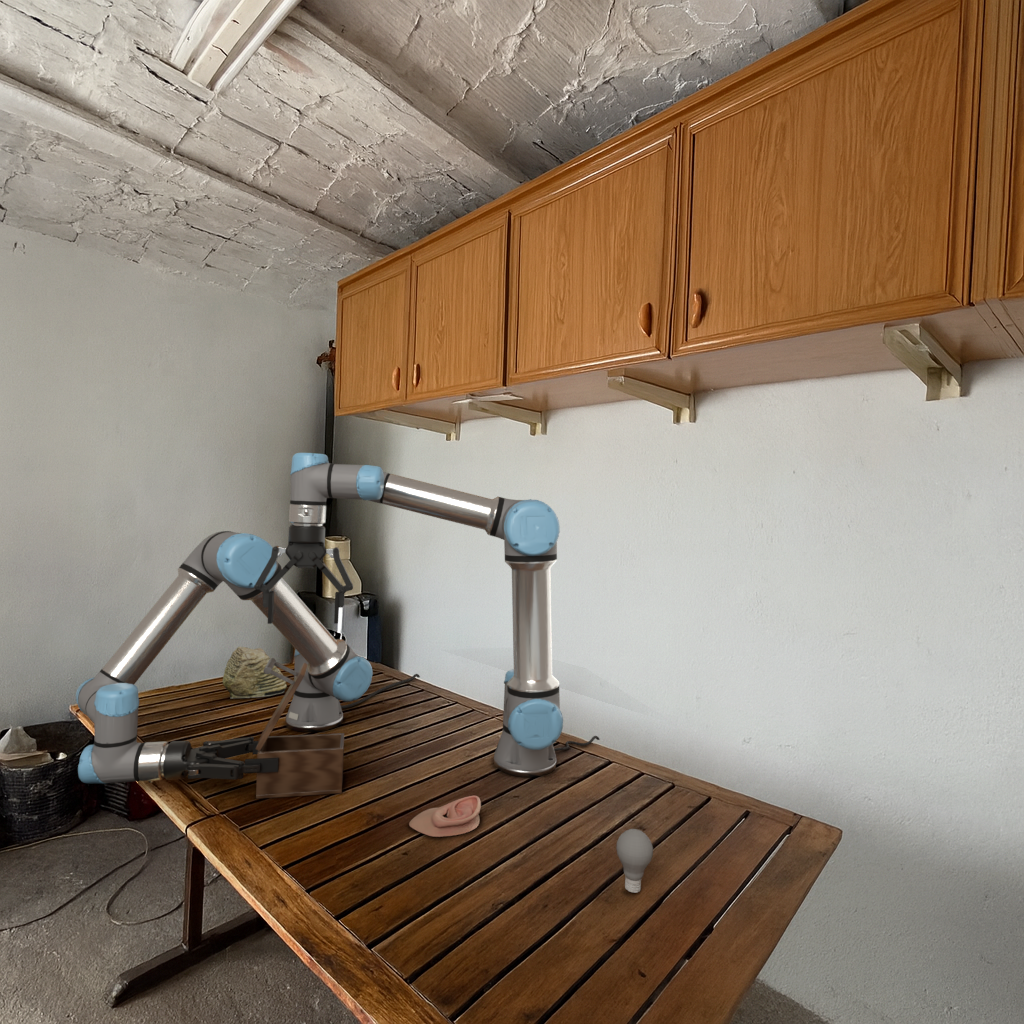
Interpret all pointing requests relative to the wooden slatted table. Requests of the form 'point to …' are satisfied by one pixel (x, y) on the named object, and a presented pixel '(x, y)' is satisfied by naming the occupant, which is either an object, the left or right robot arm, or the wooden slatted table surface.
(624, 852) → the light bulb
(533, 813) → the wooden slatted table surface
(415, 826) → the anatomical model
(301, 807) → the wooden slatted table surface
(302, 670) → the lid
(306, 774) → the chest
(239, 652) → the fossil
